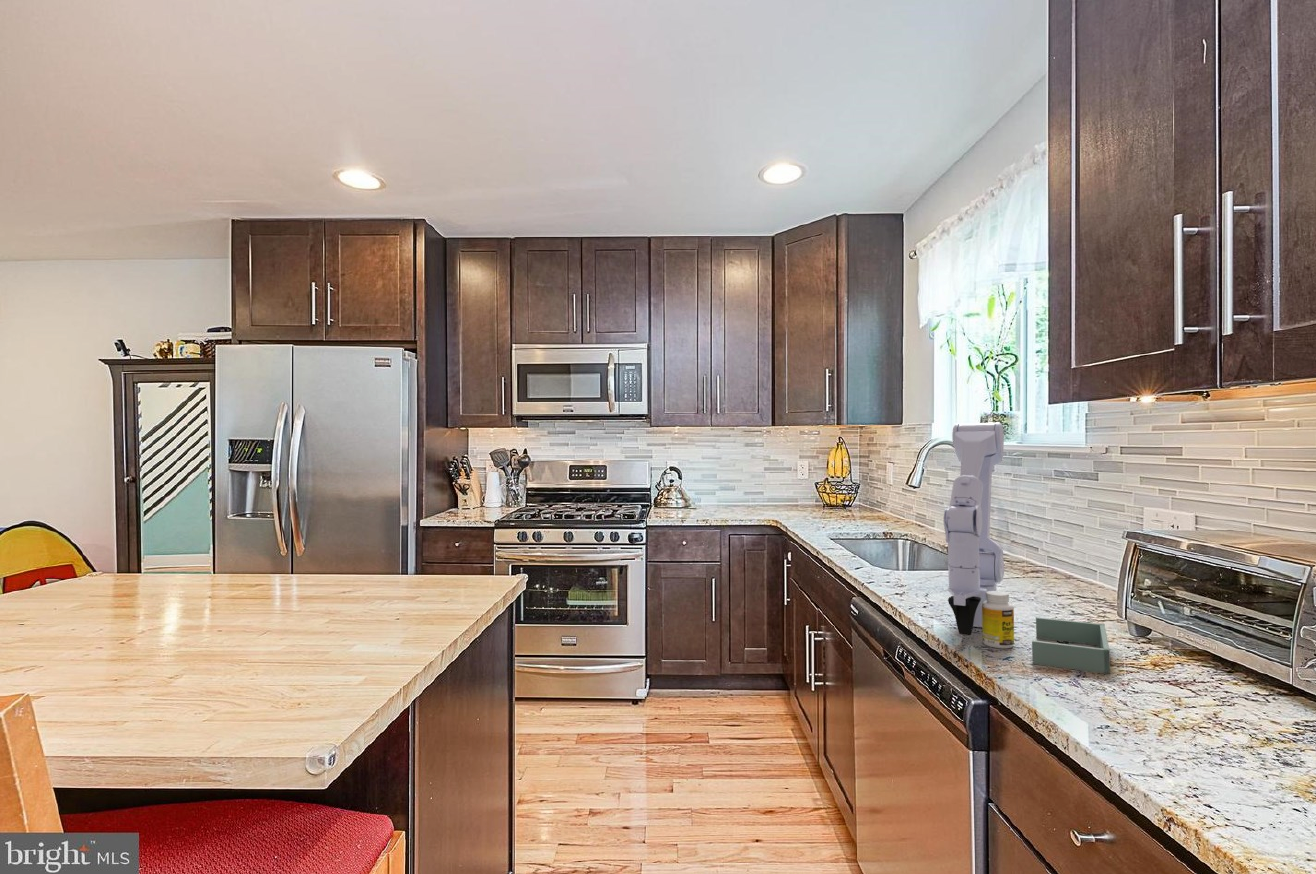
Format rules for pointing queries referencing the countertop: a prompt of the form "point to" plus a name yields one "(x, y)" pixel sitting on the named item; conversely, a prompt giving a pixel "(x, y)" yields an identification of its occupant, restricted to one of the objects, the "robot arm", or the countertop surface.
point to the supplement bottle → (998, 620)
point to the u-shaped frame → (1071, 654)
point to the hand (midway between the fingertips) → (965, 634)
